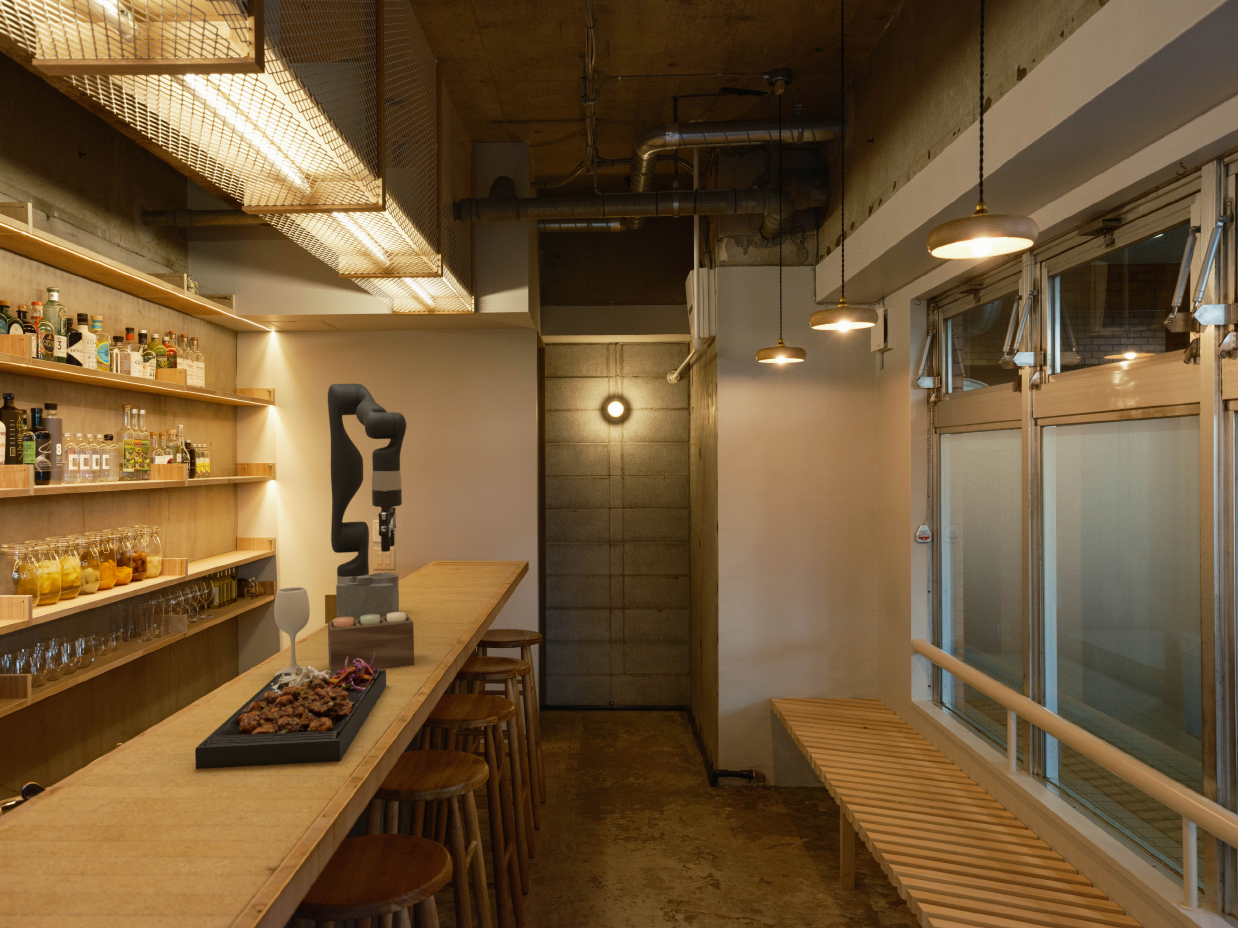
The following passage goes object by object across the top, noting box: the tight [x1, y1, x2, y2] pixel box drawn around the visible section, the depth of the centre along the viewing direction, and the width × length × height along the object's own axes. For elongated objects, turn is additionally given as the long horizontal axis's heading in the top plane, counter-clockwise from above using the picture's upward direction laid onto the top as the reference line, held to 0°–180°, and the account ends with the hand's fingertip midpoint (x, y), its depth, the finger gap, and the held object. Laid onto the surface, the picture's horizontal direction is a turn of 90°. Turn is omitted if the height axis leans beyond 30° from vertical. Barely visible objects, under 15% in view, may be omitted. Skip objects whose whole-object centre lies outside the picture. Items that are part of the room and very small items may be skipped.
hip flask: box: [335, 576, 393, 619], centre depth 224 cm, size 16×4×20 cm, turn 87°
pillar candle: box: [369, 570, 400, 612], centre depth 265 cm, size 10×10×15 cm
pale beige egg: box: [387, 611, 407, 623], centre depth 209 cm, size 5×5×4 cm
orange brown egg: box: [333, 617, 354, 628], centre depth 204 cm, size 5×5×4 cm
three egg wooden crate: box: [327, 613, 415, 671], centre depth 206 cm, size 11×20×11 cm, turn 113°
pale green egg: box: [360, 614, 380, 625], centre depth 206 cm, size 5×5×4 cm
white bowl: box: [273, 586, 311, 677], centre depth 199 cm, size 9×9×21 cm
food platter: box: [194, 652, 387, 770], centre depth 164 cm, size 45×25×10 cm, turn 6°
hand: (388, 548), depth 213 cm, fingers open, 8 cm apart
